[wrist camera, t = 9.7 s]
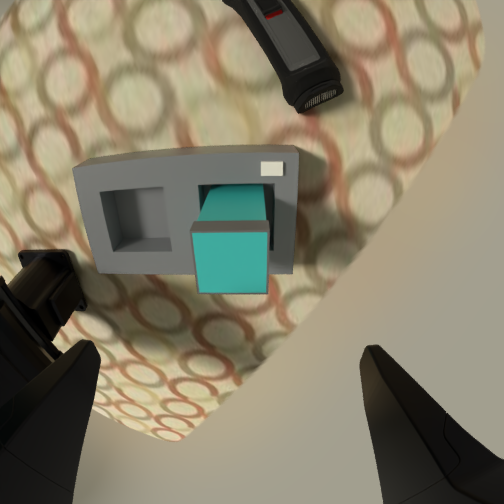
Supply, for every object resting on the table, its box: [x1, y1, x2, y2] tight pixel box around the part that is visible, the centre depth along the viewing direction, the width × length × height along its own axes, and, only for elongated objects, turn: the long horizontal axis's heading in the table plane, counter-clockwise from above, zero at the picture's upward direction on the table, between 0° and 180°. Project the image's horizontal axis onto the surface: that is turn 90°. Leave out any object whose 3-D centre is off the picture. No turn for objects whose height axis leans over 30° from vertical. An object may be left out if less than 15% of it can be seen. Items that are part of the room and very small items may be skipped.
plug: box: [190, 183, 270, 294], centre depth 16 cm, size 3×3×7 cm
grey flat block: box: [72, 145, 299, 275], centre depth 19 cm, size 14×8×3 cm, turn 91°
